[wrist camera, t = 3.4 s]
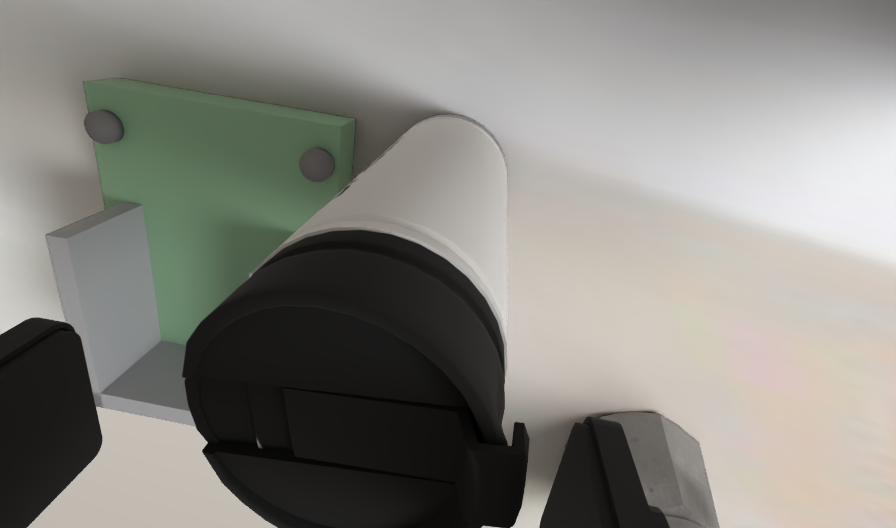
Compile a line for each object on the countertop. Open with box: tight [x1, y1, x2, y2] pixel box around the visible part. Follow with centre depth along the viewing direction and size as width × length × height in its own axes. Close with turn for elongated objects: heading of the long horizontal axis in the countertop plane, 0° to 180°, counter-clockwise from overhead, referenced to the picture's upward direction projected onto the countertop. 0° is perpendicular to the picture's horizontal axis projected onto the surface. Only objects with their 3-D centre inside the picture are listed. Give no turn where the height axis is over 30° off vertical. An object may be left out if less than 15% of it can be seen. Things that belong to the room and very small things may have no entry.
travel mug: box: [182, 114, 529, 528], centre depth 17 cm, size 6×7×20 cm
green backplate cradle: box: [45, 78, 356, 426], centre depth 26 cm, size 16×13×8 cm
